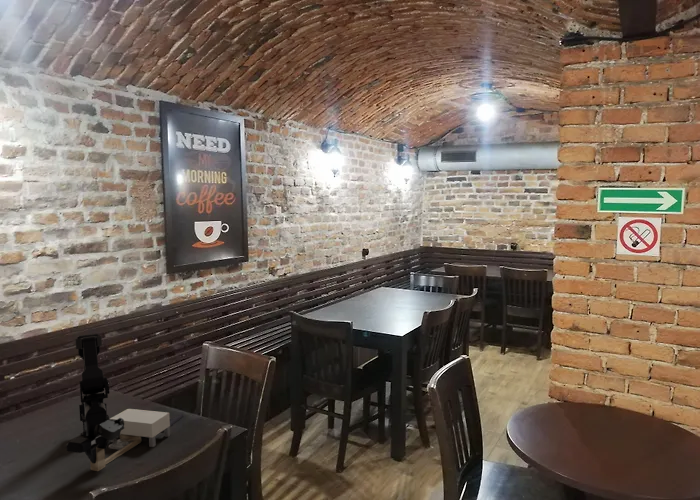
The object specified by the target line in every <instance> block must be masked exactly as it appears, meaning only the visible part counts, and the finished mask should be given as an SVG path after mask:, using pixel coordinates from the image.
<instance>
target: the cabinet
mask: <svg viewBox="0 0 700 500" xmlns="http://www.w3.org/2000/svg"><path fill="white" fill-rule="evenodd" d="M119 418H122V419H124V429H123V430H121V432H120V434H126V435H134V436H141V437H145V438H148V445H149V448H155V447H156V445H157V443H156V442H157V441H156V436H157V435H158V434H160V433H162V432H163V430H164V432H163V435H164V437H165V438H168V437H170V436H171V427H170V419H171V417H170V412H167V411H165V412H164V411H157V410H156V411H154V410H143V409H136V408H135V409H134V408H127V409H125V410H123V411H122V412H120V413H117V414H115V415H114V416H112V417H109V419H115V420H117V419H119ZM117 440H118V437H116V438H114V439H113V440H111V441H110V443H114V442H115V441H117Z"/></svg>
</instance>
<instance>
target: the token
mask: <svg viewBox="0 0 700 500" xmlns="http://www.w3.org/2000/svg"><path fill="white" fill-rule="evenodd" d="M133 441H135V440H130V439H123V438H120V437H119V439H117V441H115V442H111V444H108V445H107V447H108V449H110V450H112V449H113V450H117V451H119V450H120V449H122V448H124V447H125V446H127V445H128V444H130V443H132V442H133Z"/></svg>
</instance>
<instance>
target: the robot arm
mask: <svg viewBox="0 0 700 500" xmlns="http://www.w3.org/2000/svg"><path fill="white" fill-rule="evenodd" d="M102 337H103V336H102V335H99V334H98V332H97V333H88V334H80V335H78V336H77V338H75V339H74V340H75V341H74V342H75V350H77V351H78V356H79V357H80V358H81V359H82V362H83V371H82V372H81V380H79V394H80V404H78V406H79V422H82V426H83V427H82V428H83V429H82V430H83V431H82V432H81V433H79V436H76V437H75V438H73V439H71V440H69V441H68V442H67V443H66V452H70V453H79V454H81V453H85V455H86V456H87V458H88V459H89V460H90V461H91V462H92V463H94V464H95V463H96V448H102V449H104V451H105V452H106V451H107V447H108V445H109V441H111V440H113V439H114V438H116V437H117V438H119V437H120V432H121V430H123V429H124V419H122V418H119V419H117V420H115V419H110V416H109V415H108V413H107V406H108V405H107V403H106V402H105V399H108V398H109V395H110V384H109V383H110V382H109V379H108V378H107V377H106V376H104V370H103V369H101V367H99V360H98V355H99V354H100V352H101V347H103V342H102V341H103V340H102ZM81 436H84V437H81ZM90 461H89V462H90Z"/></svg>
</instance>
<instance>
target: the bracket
mask: <svg viewBox="0 0 700 500" xmlns="http://www.w3.org/2000/svg"><path fill="white" fill-rule="evenodd" d="M183 418H184V414H182V413H180V414H179V415H178V416H176V417H173V418H170V428H172V427H173V426H174V425H175V424H176V423H178V421H180V420H182V419H183ZM173 424H174V425H173ZM162 432H163V433H164V430H163V431H162Z"/></svg>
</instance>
